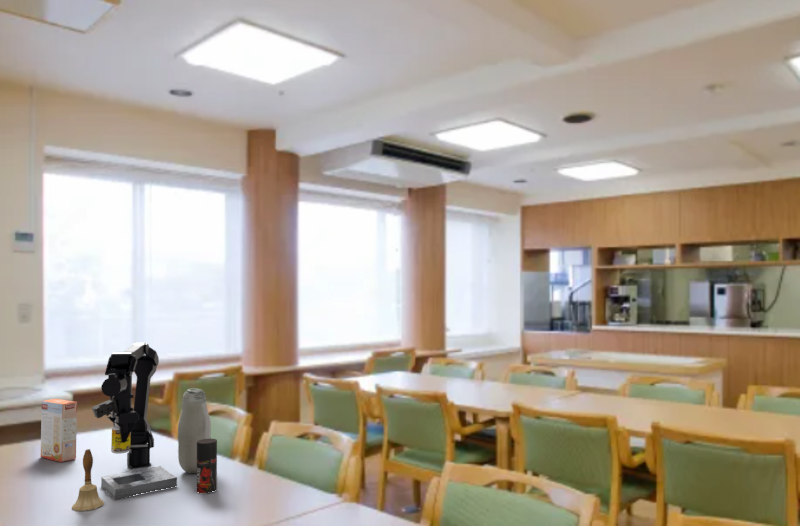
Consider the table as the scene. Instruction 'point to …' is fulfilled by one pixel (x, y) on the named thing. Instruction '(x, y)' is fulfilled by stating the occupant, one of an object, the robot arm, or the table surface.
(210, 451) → the deodorant
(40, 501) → the table surface
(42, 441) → the cracker box
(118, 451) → the supplement bottle
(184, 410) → the gray bottle
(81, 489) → the hand bell
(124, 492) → the jig block
